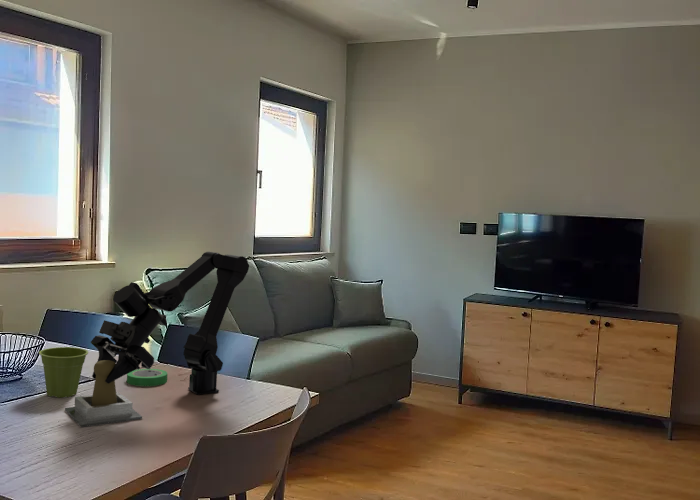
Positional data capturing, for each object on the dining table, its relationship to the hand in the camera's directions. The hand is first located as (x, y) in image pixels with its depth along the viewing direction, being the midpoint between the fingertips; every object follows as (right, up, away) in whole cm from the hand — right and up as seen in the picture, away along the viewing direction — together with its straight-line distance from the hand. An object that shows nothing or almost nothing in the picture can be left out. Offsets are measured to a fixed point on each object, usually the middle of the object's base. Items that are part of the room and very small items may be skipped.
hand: (100, 380), depth 165 cm
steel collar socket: (0, -9, +2) cm, 9 cm away
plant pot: (-15, -7, +16) cm, 23 cm away
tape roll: (+1, -7, +33) cm, 34 cm away
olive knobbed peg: (0, -7, +2) cm, 7 cm away
